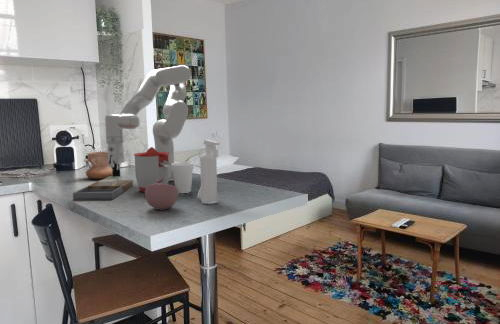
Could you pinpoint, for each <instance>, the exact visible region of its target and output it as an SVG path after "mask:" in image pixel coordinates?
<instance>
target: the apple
mask: <svg viewBox="0 0 500 324" xmlns="http://www.w3.org/2000/svg"><path fill="white" fill-rule="evenodd" d="M161 181H163V178H161V179H159V180H157V181H156V184H151V185H148V186H146V189H145V192H144V197H145V200H146V202H147V203H148V205H149V206H150V207H152V208H153V209H156V210H159V209H164V210H168V209H169V208H172V207H173V206H174V205H175V203H176V202H177V200H178V199H179V198H178V197H179V194H178V188H177V187H175V185H172V184H169V183H168V185H167V184H159V183H160V182H161Z"/></svg>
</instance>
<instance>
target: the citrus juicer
mask: <svg viewBox="0 0 500 324" xmlns="http://www.w3.org/2000/svg"><path fill="white" fill-rule="evenodd" d="M133 156H134V169H135V170H134V172H135V180H136V184H137V187H138V189H139V191H140V192H143V193H145V189H146V186H148V185H151V184H156V181H157V180H159V179H161V178H163V181H161V182H160V183H159V184H167V185H168V184H169V182H170V181H169V166H170V163H169V153H167V152H157V151H156V150H155V147H153V146H151V147H149V148H148V149H147V150H146V152H137V153H134V154H133Z"/></svg>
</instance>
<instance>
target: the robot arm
mask: <svg viewBox="0 0 500 324" xmlns="http://www.w3.org/2000/svg"><path fill="white" fill-rule="evenodd" d="M191 77H192V71H191V69H190V68H189V67H188V66H186V65H183V64H181V65H174V66H171V67H170V66H169V67H163V68H158V69H157V68H156V69H153V70H151V71H149V73H148V74H147V76H146V78H145V79H144V80H143V81H142V84H140V87H139V88H138V90H137V91H136V93H135V94H133V96H132V97H131V99H130V100H128V101H127V103H126V104H125V105H124V107H123V108H122V110H121V111H120V113H119V114H118V113H117V114H115V113H112V114H109V113H108V114H106V115H105V116H104V117H105V118H104V120H105V121H104V122H105V137H106V138H105V139H106V140H105V141H106V144H107V152H108V163H109V164H108V165H110V168H112V174H113V176H121V165H122V164H123V163H124V162H125V153H124V152H125V151H124V145H123V144H124V137H123V134H124V133H123V131H124V130H135V129H137V128H138V127H139V126H140V124H141V121H140V120H141V119H140V117H139V116H138V114H139V113H140V112H141V111H142V110H143V109H144V108H146V107H148V106H149V105H151V103H153V101H154V99H155V98H156V96H157V94H158V93H159V92H160V89H161V88H162V87H166V86H169V87H170V89H169V93H168V96H167V98H166V101H165V102H164V105H163V107H162V115H163V116H164V117H165V118H166V119H164V118H162V119H159V120H156V122H154V124H153V126H152V135H153V140H154V141H153V142H154V149H155V150H156V151H157V152H167V153H169V163H170V166H169V181H168V182H174V177H173V171H172V163H175V152H174V149H175V147H174V141H173V139H177V137H178V136H179V135H180V134H181V132H182V130H183V127H184V125H185V123H186V120H187V118H188V115H189V108H188V105H187V103H186V102H185V99H186V97H187V86H186V82H188V81H189V80H190V79H191Z"/></svg>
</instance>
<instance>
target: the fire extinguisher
mask: <svg viewBox="0 0 500 324" xmlns="http://www.w3.org/2000/svg"><path fill="white" fill-rule="evenodd" d="M204 145H205V146H204ZM216 146H221V142H219V141H215V140H211V139H204V140H203V146H202V147H201V148H200V149H199V160H200V161H199V162H200V164H199V166H200V188H199V190H198V193H197V197H196V198H197V199H200V201H203V202H212V201H216V200H217V201H218V178H217V177H218V176H217V175H218V172H217V171H218V170H217V169H218V166H217V165H218V164H217V158H218V157H219V152H218V149H217V148H216ZM203 150H204V153H202V151H203Z"/></svg>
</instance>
